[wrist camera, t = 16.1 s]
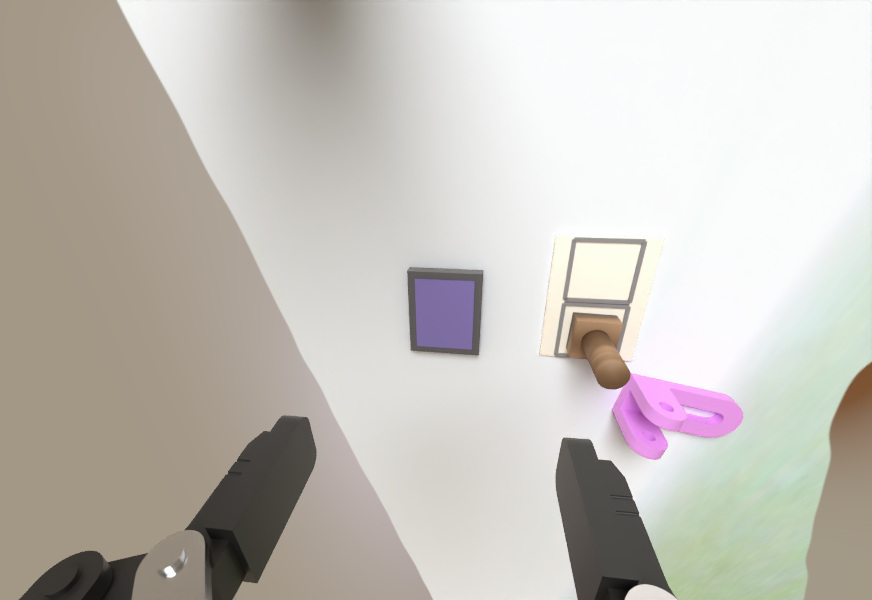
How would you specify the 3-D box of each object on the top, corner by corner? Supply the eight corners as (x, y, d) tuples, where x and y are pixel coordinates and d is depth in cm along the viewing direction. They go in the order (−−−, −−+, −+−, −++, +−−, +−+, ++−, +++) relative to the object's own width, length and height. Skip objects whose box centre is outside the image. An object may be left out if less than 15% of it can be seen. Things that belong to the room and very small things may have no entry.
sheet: (555, 235, 35) (556, 236, 35) (663, 238, 34) (665, 239, 33) (539, 353, 41) (539, 355, 41) (630, 359, 40) (632, 362, 39)
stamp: (573, 312, 38) (592, 353, 31) (616, 315, 37) (647, 358, 30) (565, 347, 40) (582, 394, 33) (607, 351, 39) (633, 399, 32)
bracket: (611, 408, 43) (632, 454, 37) (630, 372, 41) (655, 415, 34) (719, 433, 42) (759, 484, 36) (745, 397, 40) (792, 446, 34)
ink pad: (409, 267, 39) (407, 271, 37) (483, 270, 38) (482, 274, 36) (412, 345, 43) (410, 351, 42) (478, 349, 42) (478, 356, 41)
